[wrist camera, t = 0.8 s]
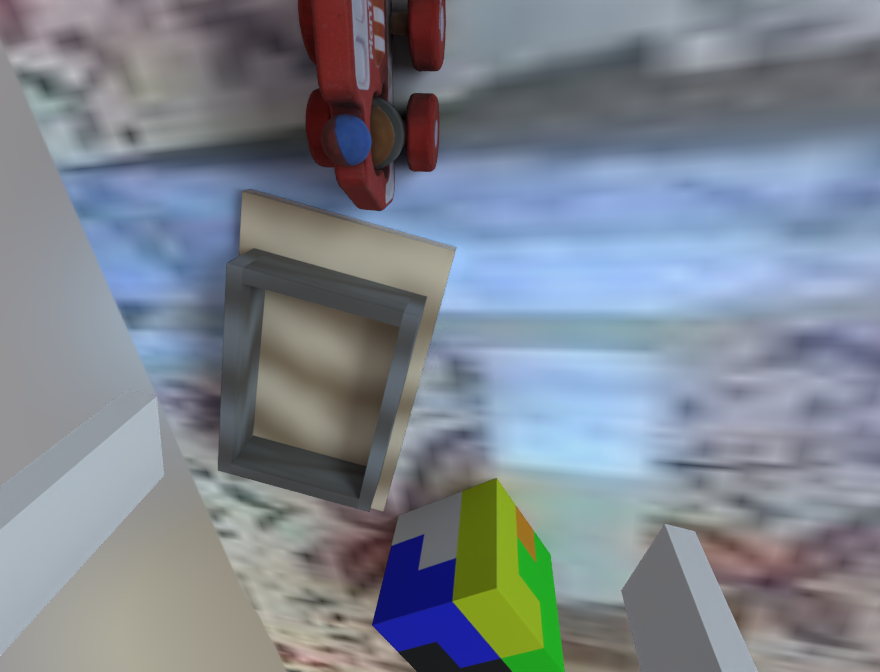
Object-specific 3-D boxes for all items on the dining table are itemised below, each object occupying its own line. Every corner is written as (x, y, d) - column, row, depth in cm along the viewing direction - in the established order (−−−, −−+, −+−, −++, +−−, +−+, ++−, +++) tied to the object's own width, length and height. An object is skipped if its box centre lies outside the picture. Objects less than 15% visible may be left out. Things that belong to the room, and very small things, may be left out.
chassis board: (249, 189, 30) (211, 200, 26) (456, 247, 30) (450, 267, 26) (233, 460, 41) (204, 499, 37) (385, 502, 41) (373, 545, 37)
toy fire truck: (332, 192, 30) (256, 228, 20) (319, -52, 24) (208, -155, 15) (439, 199, 29) (412, 240, 20) (450, -49, 24) (421, -153, 14)
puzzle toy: (398, 514, 42) (372, 625, 33) (496, 477, 38) (496, 588, 29) (455, 583, 45) (445, 701, 36) (550, 554, 42) (565, 674, 33)
